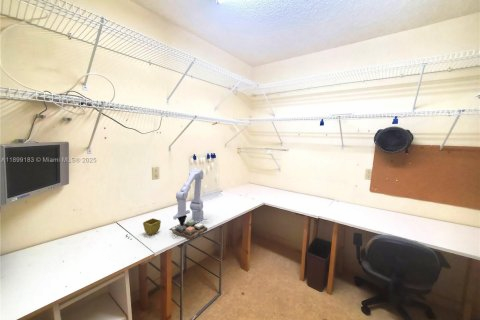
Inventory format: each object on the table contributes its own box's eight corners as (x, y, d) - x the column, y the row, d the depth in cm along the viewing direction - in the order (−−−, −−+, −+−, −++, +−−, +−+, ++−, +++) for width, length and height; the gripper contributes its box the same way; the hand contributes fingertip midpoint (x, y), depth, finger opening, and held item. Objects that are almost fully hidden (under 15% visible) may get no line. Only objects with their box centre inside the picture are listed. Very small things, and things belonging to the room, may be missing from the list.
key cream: (198, 226, 152) (198, 223, 152) (202, 227, 150) (202, 224, 150) (194, 228, 149) (194, 225, 148) (198, 229, 146) (198, 226, 146)
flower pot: (142, 234, 142) (142, 222, 141) (152, 229, 149) (152, 217, 148) (151, 237, 138) (151, 224, 137) (161, 232, 146) (161, 220, 145)
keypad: (189, 224, 160) (189, 220, 159) (207, 229, 151) (207, 225, 151) (172, 233, 144) (172, 228, 144) (190, 240, 135) (190, 235, 135)
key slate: (182, 228, 148) (182, 225, 148) (186, 229, 146) (186, 226, 146) (177, 230, 145) (177, 227, 144) (181, 231, 142) (181, 228, 142)
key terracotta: (189, 229, 144) (189, 226, 144) (194, 230, 142) (194, 227, 142) (185, 231, 141) (185, 228, 140) (190, 233, 138) (190, 230, 138)
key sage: (190, 222, 156) (190, 219, 156) (194, 223, 154) (194, 220, 154) (186, 224, 152) (186, 221, 152) (190, 225, 150) (190, 222, 150)
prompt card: (181, 223, 160) (181, 223, 160) (184, 224, 158) (184, 224, 158) (169, 229, 150) (169, 228, 150) (173, 230, 148) (173, 230, 148)
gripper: (185, 203, 152) (185, 220, 153) (170, 209, 139) (170, 227, 141) (192, 205, 148) (192, 222, 150) (177, 211, 136) (177, 230, 137)
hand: (182, 225), depth 145 cm, fingers closed
